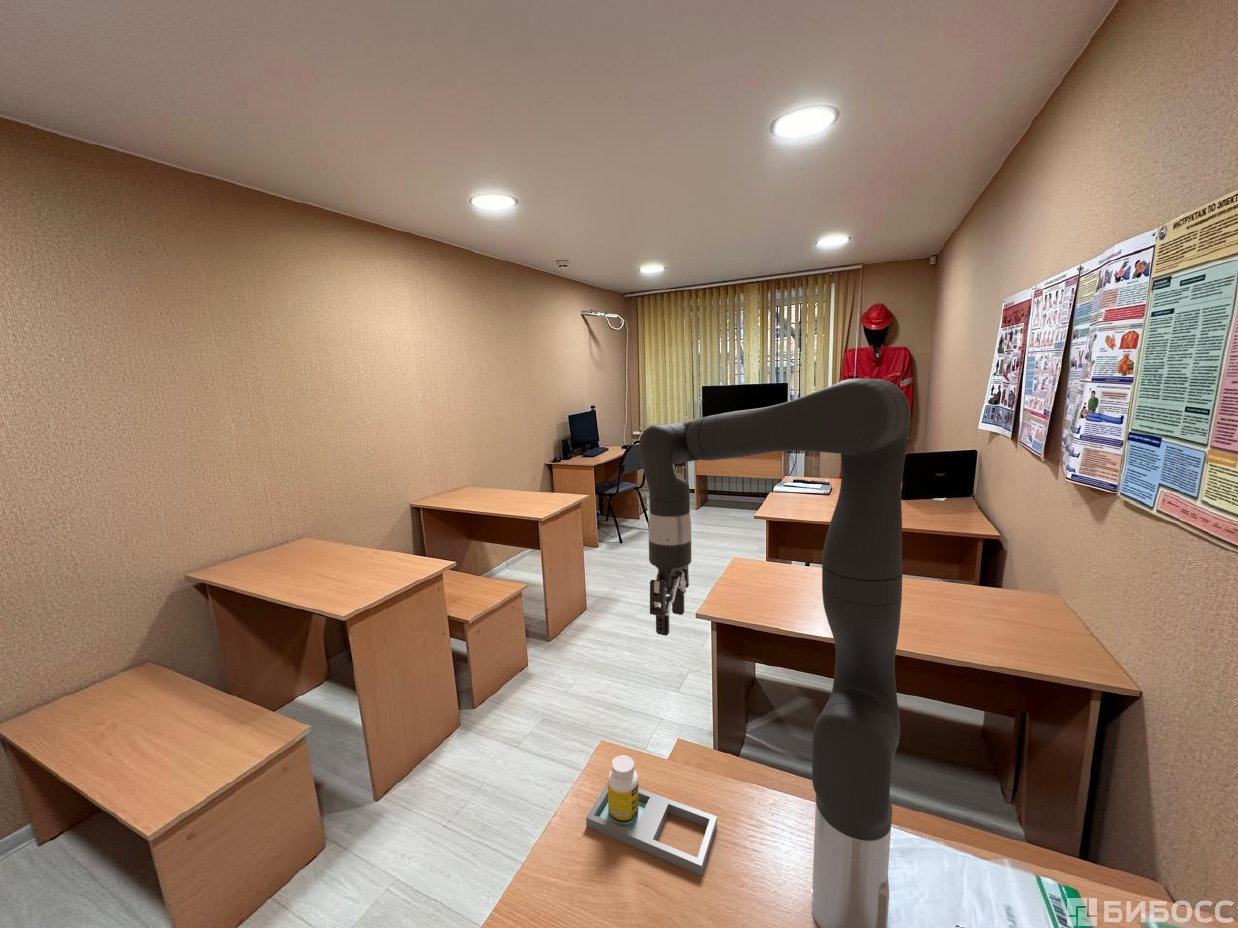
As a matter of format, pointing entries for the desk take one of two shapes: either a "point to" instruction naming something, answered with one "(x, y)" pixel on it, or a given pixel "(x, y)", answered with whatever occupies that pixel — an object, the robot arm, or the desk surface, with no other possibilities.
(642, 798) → the frame
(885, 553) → the robot arm
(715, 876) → the desk surface
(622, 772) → the supplement bottle
